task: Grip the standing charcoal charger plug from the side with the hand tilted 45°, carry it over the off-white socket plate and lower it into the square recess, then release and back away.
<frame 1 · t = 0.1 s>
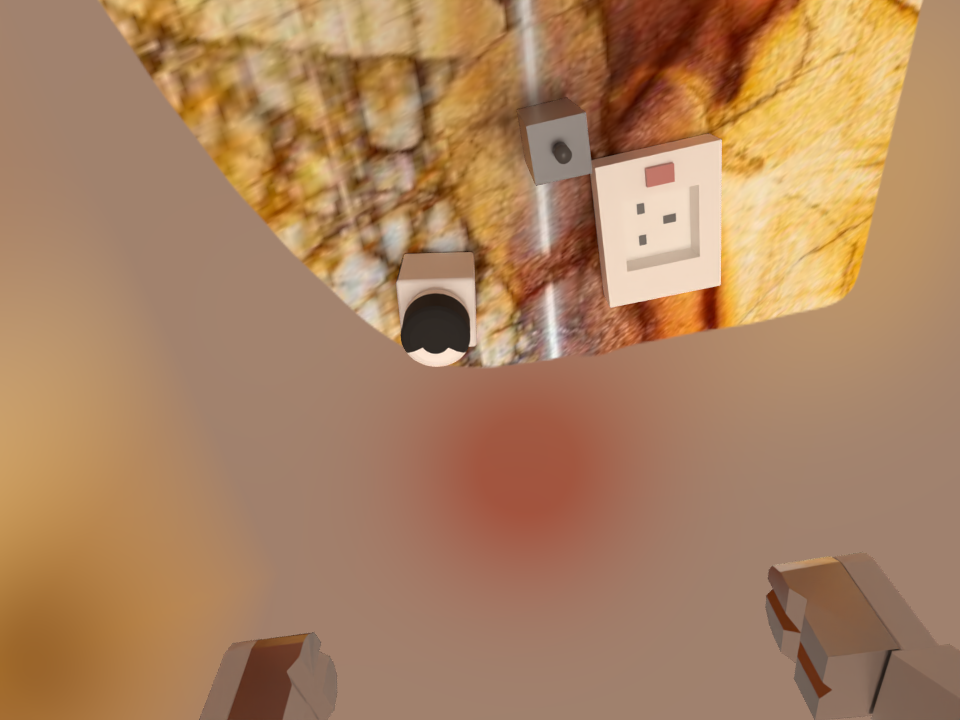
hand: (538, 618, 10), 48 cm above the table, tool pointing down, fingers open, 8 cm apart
plug: (545, 130, 51), on the table
socket: (652, 220, 55), on the table
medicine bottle: (440, 283, 59), on the table
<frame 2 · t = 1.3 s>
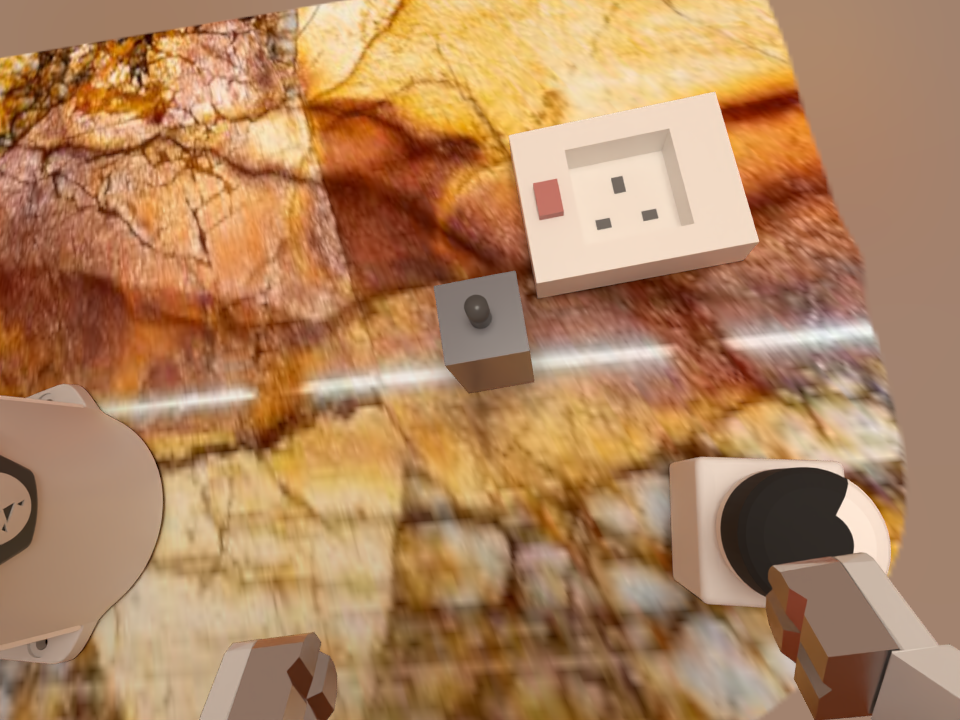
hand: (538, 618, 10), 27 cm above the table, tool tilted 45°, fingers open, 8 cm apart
plug: (496, 355, 39), on the table
socket: (621, 207, 40), on the table
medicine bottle: (729, 522, 35), on the table
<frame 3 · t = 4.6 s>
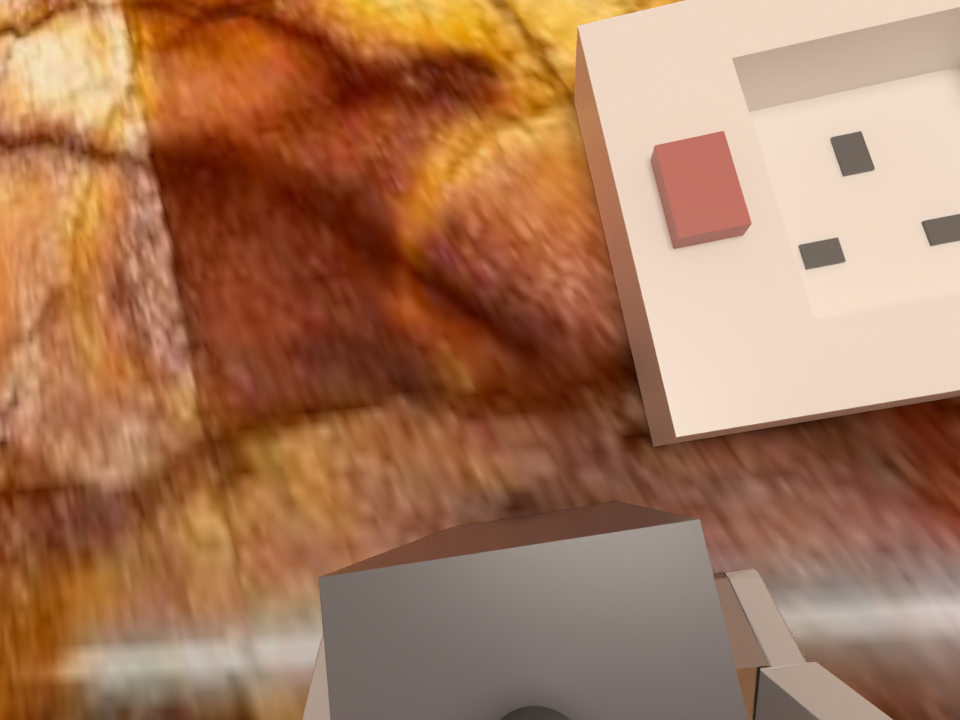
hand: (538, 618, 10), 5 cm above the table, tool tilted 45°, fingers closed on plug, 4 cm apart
plug: (548, 602, 15), on the table, touching gripper
socket: (858, 211, 16), on the table
when the fingers open (7 cm above the table, at t = 10.6 s): plug drops 1 cm, resting on socket.
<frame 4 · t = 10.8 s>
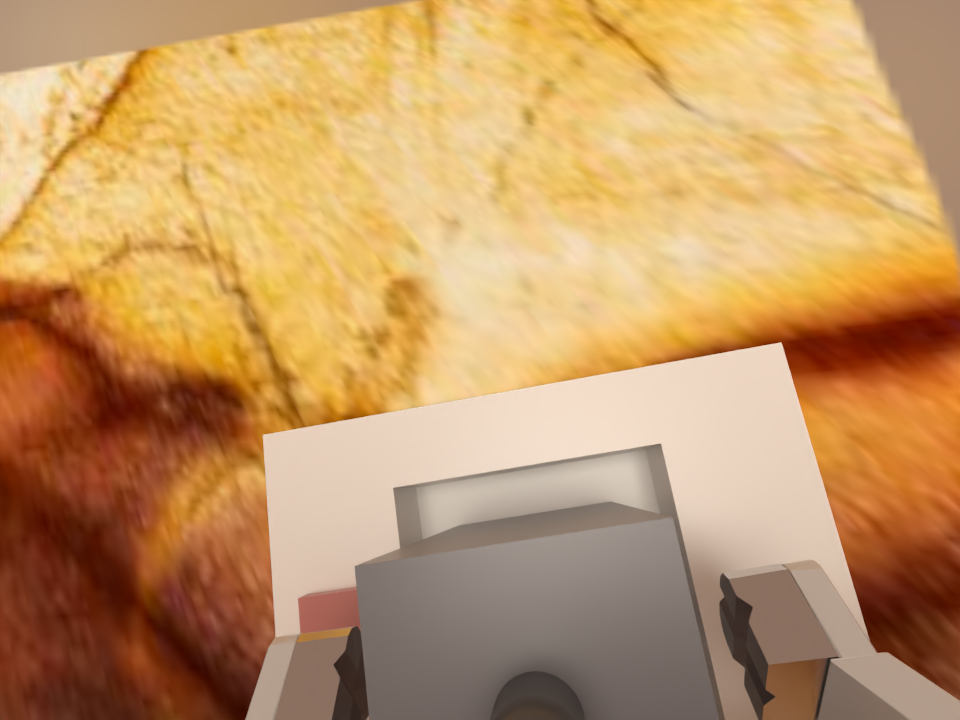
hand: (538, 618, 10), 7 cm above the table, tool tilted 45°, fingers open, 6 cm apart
plug: (548, 594, 16), point 1 cm above the table, touching socket
socket: (550, 589, 17), on the table
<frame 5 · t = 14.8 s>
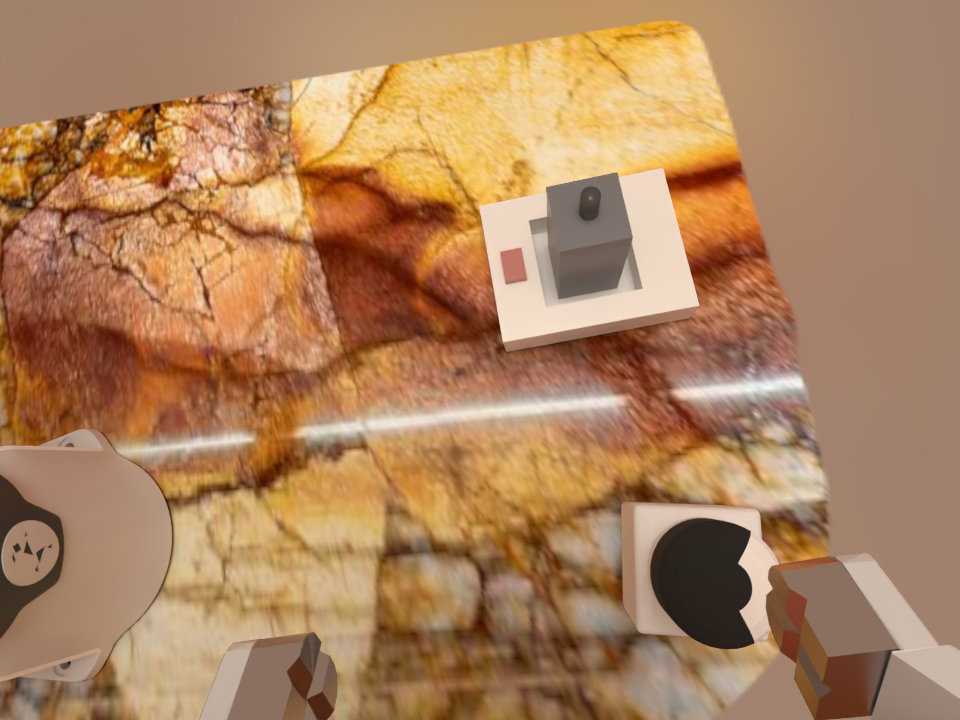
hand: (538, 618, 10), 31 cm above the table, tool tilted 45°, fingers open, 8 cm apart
plug: (581, 266, 44), point 1 cm above the table, touching socket
socket: (582, 269, 44), on the table
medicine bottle: (673, 556, 39), on the table
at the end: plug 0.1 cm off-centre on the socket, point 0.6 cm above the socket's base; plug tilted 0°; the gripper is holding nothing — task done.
